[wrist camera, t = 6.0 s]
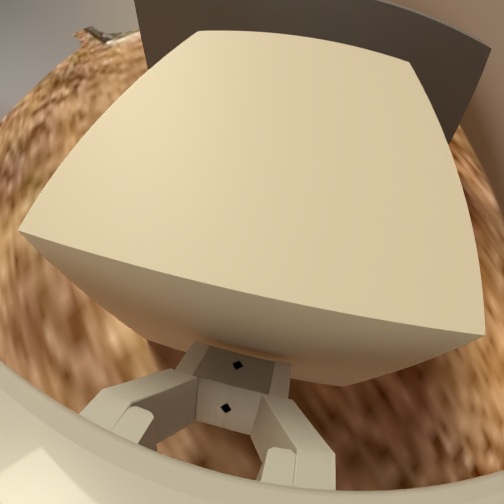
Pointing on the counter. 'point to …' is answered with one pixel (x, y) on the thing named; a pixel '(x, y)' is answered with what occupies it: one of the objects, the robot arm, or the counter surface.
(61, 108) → the counter surface
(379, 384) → the counter surface
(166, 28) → the grey stand
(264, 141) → the block
